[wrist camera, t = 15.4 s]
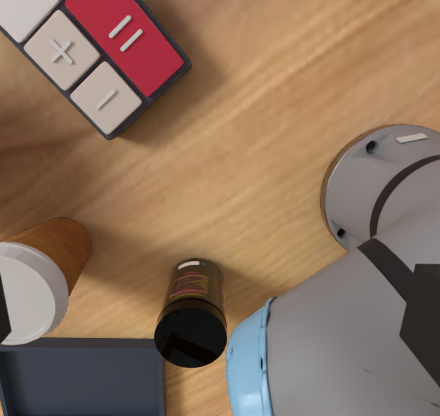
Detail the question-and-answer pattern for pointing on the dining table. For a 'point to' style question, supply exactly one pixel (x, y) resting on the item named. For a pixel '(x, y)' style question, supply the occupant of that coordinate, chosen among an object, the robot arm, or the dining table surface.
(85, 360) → the tray
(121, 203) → the dining table surface
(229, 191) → the dining table surface
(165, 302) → the supplement container
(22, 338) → the disposable coffee cup
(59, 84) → the calculator
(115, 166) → the dining table surface
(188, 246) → the dining table surface
